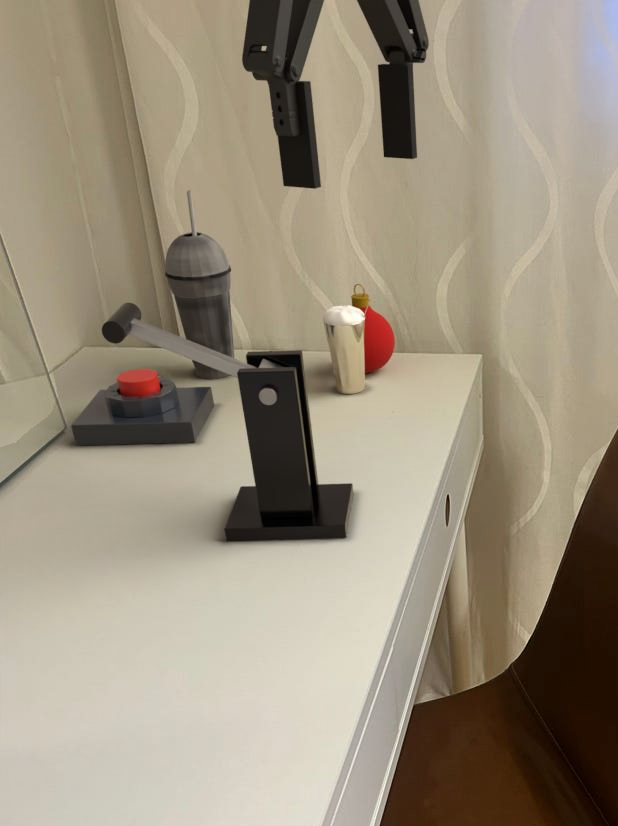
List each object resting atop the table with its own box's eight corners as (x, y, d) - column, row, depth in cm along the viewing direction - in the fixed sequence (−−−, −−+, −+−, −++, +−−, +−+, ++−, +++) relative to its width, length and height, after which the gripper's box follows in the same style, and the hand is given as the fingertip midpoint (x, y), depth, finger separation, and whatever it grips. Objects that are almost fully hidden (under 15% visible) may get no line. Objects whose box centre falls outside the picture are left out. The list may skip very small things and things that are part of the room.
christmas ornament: (324, 374, 114) (314, 286, 108) (363, 357, 119) (356, 272, 113) (369, 385, 111) (362, 296, 105) (408, 367, 115) (403, 281, 110)
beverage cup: (229, 357, 119) (199, 180, 108) (258, 372, 115) (230, 189, 103) (173, 371, 116) (137, 189, 104) (201, 387, 111) (166, 198, 100)
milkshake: (372, 397, 107) (364, 305, 102) (325, 395, 108) (315, 304, 103) (382, 383, 111) (375, 293, 105) (337, 381, 112) (327, 292, 106)
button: (115, 399, 98) (111, 382, 97) (126, 385, 102) (122, 369, 101) (155, 398, 98) (151, 381, 97) (164, 384, 102) (161, 368, 101)
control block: (76, 445, 98) (65, 408, 96) (104, 408, 106) (95, 373, 104) (195, 442, 98) (187, 404, 96) (214, 405, 106) (208, 370, 104)
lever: (98, 342, 73) (105, 313, 71) (116, 322, 77) (123, 294, 76) (281, 414, 76) (290, 387, 75) (289, 392, 80) (298, 365, 79)
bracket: (226, 541, 81) (195, 380, 73) (242, 498, 87) (216, 346, 80) (346, 537, 81) (328, 376, 73) (353, 495, 88) (338, 343, 80)
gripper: (248, -228, 51) (298, 205, 63) (467, -180, 69) (473, 149, 81) (141, -215, 54) (208, 197, 66) (378, -172, 72) (396, 145, 84)
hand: (354, 171), depth 74 cm, fingers open, 13 cm apart
